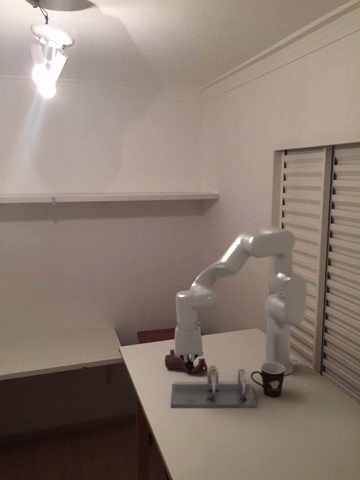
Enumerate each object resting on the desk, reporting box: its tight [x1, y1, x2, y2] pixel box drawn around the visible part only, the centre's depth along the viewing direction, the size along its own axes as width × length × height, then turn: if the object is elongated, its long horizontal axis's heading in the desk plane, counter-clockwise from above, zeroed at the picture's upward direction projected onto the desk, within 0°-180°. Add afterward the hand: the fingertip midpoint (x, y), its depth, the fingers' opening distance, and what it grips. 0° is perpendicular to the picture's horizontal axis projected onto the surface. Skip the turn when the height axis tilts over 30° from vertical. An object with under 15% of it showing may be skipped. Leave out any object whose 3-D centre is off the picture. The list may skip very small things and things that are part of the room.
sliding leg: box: [206, 365, 219, 399], centre depth 155 cm, size 4×10×8 cm, turn 179°
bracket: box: [164, 348, 208, 374], centre depth 174 cm, size 6×17×10 cm, turn 73°
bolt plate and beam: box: [170, 368, 257, 409], centre depth 154 cm, size 30×14×8 cm, turn 88°
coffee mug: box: [250, 362, 285, 399], centre depth 157 cm, size 12×9×10 cm
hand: (189, 370), depth 158 cm, fingers closed
